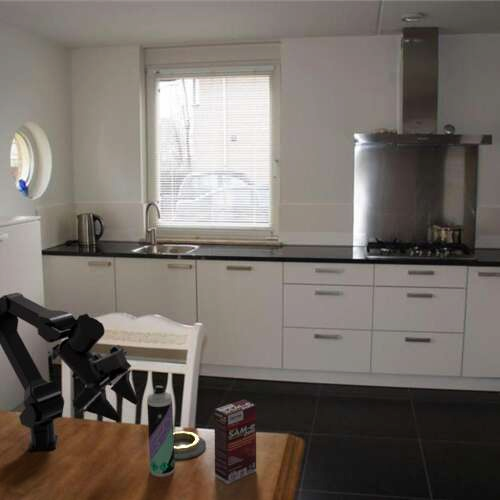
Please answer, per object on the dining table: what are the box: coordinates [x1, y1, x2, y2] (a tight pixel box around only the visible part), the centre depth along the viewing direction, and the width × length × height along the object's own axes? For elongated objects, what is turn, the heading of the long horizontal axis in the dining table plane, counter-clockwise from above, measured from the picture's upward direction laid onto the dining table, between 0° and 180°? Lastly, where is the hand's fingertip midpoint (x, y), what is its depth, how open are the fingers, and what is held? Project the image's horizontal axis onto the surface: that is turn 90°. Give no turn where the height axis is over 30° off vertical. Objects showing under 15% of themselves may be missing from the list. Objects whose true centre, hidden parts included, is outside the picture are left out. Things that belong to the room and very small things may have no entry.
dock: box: [173, 430, 207, 461], centre depth 152 cm, size 12×12×2 cm
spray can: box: [146, 384, 176, 478], centre depth 140 cm, size 6×6×20 cm
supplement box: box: [213, 399, 257, 485], centre depth 139 cm, size 9×5×16 cm, turn 131°
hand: (128, 411), depth 141 cm, fingers open, 9 cm apart
